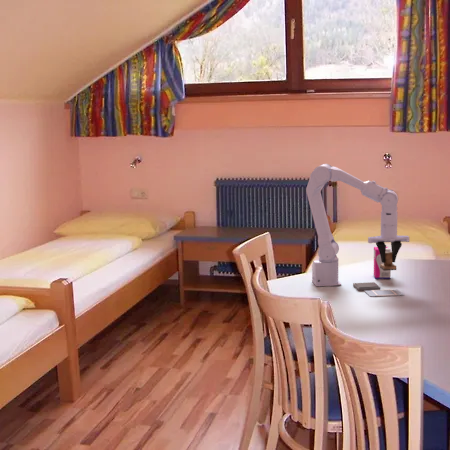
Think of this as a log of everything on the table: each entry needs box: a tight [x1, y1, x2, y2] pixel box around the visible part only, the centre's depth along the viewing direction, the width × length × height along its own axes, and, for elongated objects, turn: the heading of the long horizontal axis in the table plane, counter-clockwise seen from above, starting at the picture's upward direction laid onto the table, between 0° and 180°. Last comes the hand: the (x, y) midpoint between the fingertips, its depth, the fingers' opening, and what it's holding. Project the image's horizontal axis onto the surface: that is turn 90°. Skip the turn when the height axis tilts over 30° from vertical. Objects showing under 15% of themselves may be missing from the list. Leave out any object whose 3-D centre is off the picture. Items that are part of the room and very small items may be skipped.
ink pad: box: [352, 281, 381, 292], centre depth 249 cm, size 8×7×1 cm
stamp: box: [380, 251, 397, 271], centre depth 248 cm, size 4×4×6 cm
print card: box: [364, 288, 405, 298], centre depth 241 cm, size 12×7×1 cm, turn 94°
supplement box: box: [373, 246, 392, 280], centre depth 263 cm, size 6×6×12 cm
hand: (388, 261), depth 248 cm, fingers closed on stamp, 3 cm apart
